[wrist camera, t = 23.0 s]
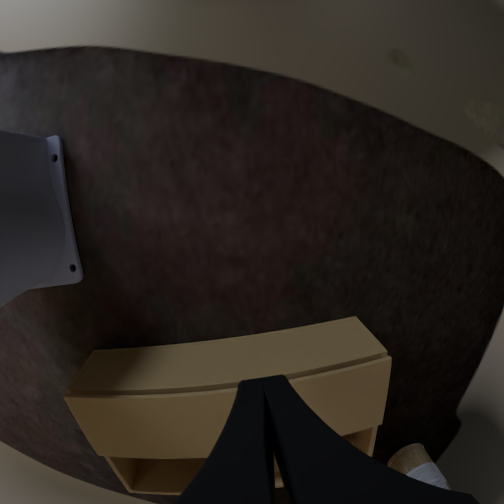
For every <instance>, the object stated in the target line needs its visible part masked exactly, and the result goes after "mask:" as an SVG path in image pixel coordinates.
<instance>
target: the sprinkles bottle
mask: <svg viewBox="0 0 504 504" xmlns="http://www.w3.org/2000/svg"><path fill="white" fill-rule="evenodd" d="M387 466H388V467H390V468H393V469H395V470H397V471H399V472H401V473H403V474H405V475H407V476H409V477H412V478H415V479H417V480H420V481H423V482H425V483H428V484H431V485H434V486H437V487H441V488H444V489H449V490H452V489H451V488H450V487H449V485H448V483H447V481H446V479H445V478H444V476H443V475H442V473H441V472H440V470H439V469H438V467H437V466H436V464H435V463H433V461H432V460H431V458H430V457H429V455H428V454H427V453H426V451H425V449H424V446H423V445H422V444H420V443H415V444H411V445H408V446H406V447H404V448H402V449H400V450H399V451H397V452H396V453H395V454H394V455H393V456H392V457H391V458H390V459H389V461H388V463H387Z"/></svg>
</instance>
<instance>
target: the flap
mask: <svg viewBox="0 0 504 504" xmlns="http://www.w3.org/2000/svg"><path fill="white" fill-rule="evenodd" d="M391 363H392V358H391V357H390V356H387V357H384V358H380V359H377V360H373V361H369V362H365V363H362V364H358V365H354V366H350V367H346V368H341V369H337V370H333V371H328V372H324V373H319V374H314V375H309V376H304V377H299V378H294V379H288V381H289V382H290V384H291V385H292V387H293V388H294V389H295V391H296V392H297V393H298V394H299V396H300V397H301V398H302V399H303V400H304V402H305V403H306V404H307V405H308V406H309V407H310V408H311V409H312V410H313V411H314V412H315V413H316V414H317V415H318V416H319V417H320V418H321V419H322V420H323V421H324V422H325V423H326V424H327V425H328V426H329V427H331V428H332V429H333V430H334V431H335V432H336V433H338V434H339V435H340V436H343V435H347V434H351V433H354V432H358V431H361V430H365V429H368V428H371V427H374V426H378V425H381V424H382V421H383V416H384V410H385V404H386V399H387V392H388V386H389V379H390V371H391ZM237 389H238V387H236V388H228V389H219V390H209V391H198V392H186V393H172V394H152V395H80V394H64V396H63V397H64V399H65V401H66V403H67V405H68V407H69V408H70V410H71V412H72V414H73V416H74V417H75V419H76V421H77V423H78V424H79V426H80V428H81V429H82V431H83V433H84V434H85V436H86V437H87V439H88V441H89V442H90V444H91V445H92V447H93V448H94V450H95V451H96V453H97V454H98V455H100V456H111V457H124V458H146V459H186V458H208V456H209V454H210V453H211V451H212V449H213V447H214V445H215V443H216V442H217V440H218V438H219V436H220V434H221V432H222V430H223V428H224V426H225V423H226V421H227V418H228V416H229V414H230V411H231V409H232V406H233V403H234V400H235V397H236V393H237Z"/></svg>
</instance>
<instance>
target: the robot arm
mask: <svg viewBox="0 0 504 504" xmlns="http://www.w3.org/2000/svg"><path fill="white" fill-rule="evenodd" d="M56 155H57V156H58V160H57V161H56V162H55V160H54V159H55V156H56ZM72 264H74V265H75V266H76V270H74V269H73V268H72ZM82 279H83V271H82V267H81V262H80V258H79V254H78V249H77V244H76V239H75V234H74V229H73V223H72V218H71V212H70V205H69V199H68V192H67V184H66V176H65V167H64V157H63V144H62V139H61V137H59V136H56V135H55V136H51V137H48V138H41V137H36V136H31V135H26V134H20V133H15V132H9V131H3V130H0V307H2V306H3V305H5V304H6V303H8V302H9V301H11V300H13V299H14V298H16V297H17V296H19V295H20V294H22V293H24V292H25V291H27V290H28V289H36V288H43V287H51V286H58V285H66V284H73V283H78V282H80V281H81V280H82ZM273 452H274V455H275V458H276V462H277V465H278V469H279V472H280V475H281V478H282V482H283V485H284V488H285V492H286V495H287V498H288V501H289V504H480V503H479V502H478V501H477V500H476V499H475V498H474V497H473V496H472V495H471V494H466V493H462V492H457V491H453V490H449V489H444V488H441V487H437V486H434V485H431V484H428V483H425V482H423V481H420V480H417V479H415V478H412V477H409V476H407V475H405V474H403V473H401V472H399V471H397V470H395V469H393V468H390V467H388V466H386V465H384V464H382V463H380V462H379V461H377V460H375V459H374V458H372V457H370V456H369V455H367V454H365V453H364V452H362V451H361V450H359V449H358V448H356V447H355V446H353V445H352V444H351V443H349V442H348V441H347V440H345V439H344V438H343V437H341V436H340V435H339V434H338V433H336V432H335V431H334V430H333V429H332V428H331V427H329V426H328V425H327V424H326V423H325V422H324V421H323V420H322V419H321V418H320V417H319V416H318V415H317V414H316V413H315V412H314V411H313V410H312V409H311V408H310V407H309V406H308V405H307V404H306V403H305V402H304V400H303V399H302V398H301V397H300V396H299V394H298V393H297V392H296V391H295V389H294V388H293V387H292V385H291V384H290V382H289V381H288V379H287V378H286V376H284V375H283V374H280V375H274V376H268V377H261V378H254V379H247V380H241V381H240V382H239V383H238V389H237V393H236V397H235V400H234V403H233V406H232V409H231V411H230V414H229V416H228V418H227V421H226V423H225V426H224V428H223V430H222V432H221V434H220V436H219V438H218V440H217V442H216V443H215V445H214V447H213V449H212V451H211V453H210V454H209V456H208V458H207V459H206V461H205V462H204V464H203V465H202V467H201V468H200V470H199V471H198V473H197V474H196V476H195V477H194V478H193V480H192V481H191V482H190V483H189V485H188V486H187V487H186V488H185V490H184V491H183V492H182V493H181V494H180V496H179V497H178V498H177V499H176V500H175V501H174V502H173V503H172V504H276V491H275V473H274V455H273Z"/></svg>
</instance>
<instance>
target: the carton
mask: <svg viewBox="0 0 504 504" xmlns="http://www.w3.org/2000/svg"><path fill="white" fill-rule="evenodd" d="M384 357H387V350H386V349H385V348H384V347H383V345H382V344H381V343H380V342H379V341H378V340H377V339H376V338H375V337H374V336H373V334H372V333H371V332H370V331H369V330H368V329H367V328H366V327H365V326H364V325H363V324H362V322H361V321H360V320H359V319H358V318H357V317H356V316H353V317H349V318H344V319H339V320H334V321H329V322H324V323H319V324H314V325H308V326H303V327H297V328H291V329H286V330H280V331H273V332H267V333H261V334H254V335H247V336H240V337H233V338H225V339H218V340H209V341H201V342H192V343H183V344H172V345H162V346H150V347H137V348H122V349H104V350H93V352H92V353H91V355H90V356H89V357H88V359H87V360H86V362H85V363H84V364H83V366H82V367H81V369H80V370H79V372H78V373H77V374H76V376H75V377H74V379H73V380H72V382H71V383H70V385H69V386H68V387H67V391H68V393H69V394H80V395H152V394H172V393H186V392H198V391H206V390H216V389H225V388H233V387H238V383H239V382H240V381H241V380H247V379H254V378H261V377H268V376H274V375H280V374H283V375H284V376H286V378H287V379H292V378H297V377H303V376H308V375H313V374H318V373H322V372H327V371H331V370H337V369H341V368H346V367H350V366H354V365H358V364H362V363H365V362H369V361H373V360H377V359H380V358H384ZM377 428H378V426H374V427H371V428H368V429H365V430H361V431H358V432H354V433H351V434H347V435H343V436H341V437H343V438H344V439H345V440H347V441H348V442H349V443H351V444H352V445H353V446H355V447H356V448H358V449H359V450H361V451H362V452H364V453H365V454H367V455H369V456H370V457H372V454H373V449H374V444H375V439H376V433H377ZM273 455H274V452H273ZM104 457H105V458H106V460H107V461H108V463H109V464H110V466H111V467H112V469H113V470H114V472H115V473H116V475H117V476H118V478H119V479H120V480H121V482H122V483H123V485H124V486H125V487H126V489H127V490H128V491H129V492H131V493H144V494H162V495H180V494H181V493H182V492H183V491H184V490H185V488H186V487H187V486H188V485H189V483H190V482H191V481H192V480H193V478H194V477H195V476H196V474H197V473H198V471H199V470H200V468H201V467H202V465H203V464H204V462H205V461H206V459H207V458H186V459H146V458H124V457H111V456H104ZM274 473H275V488H278V487H284V485H283V482H282V478H281V475H280V472H279V469H278V465H277V462H276V458H275V455H274Z"/></svg>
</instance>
